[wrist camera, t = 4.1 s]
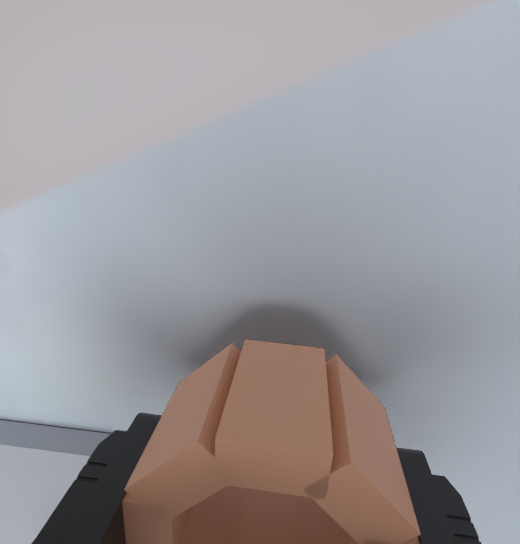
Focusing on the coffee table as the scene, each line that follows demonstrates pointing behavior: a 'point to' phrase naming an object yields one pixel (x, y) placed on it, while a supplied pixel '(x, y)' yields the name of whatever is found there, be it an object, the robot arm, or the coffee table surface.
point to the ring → (270, 457)
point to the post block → (37, 474)
